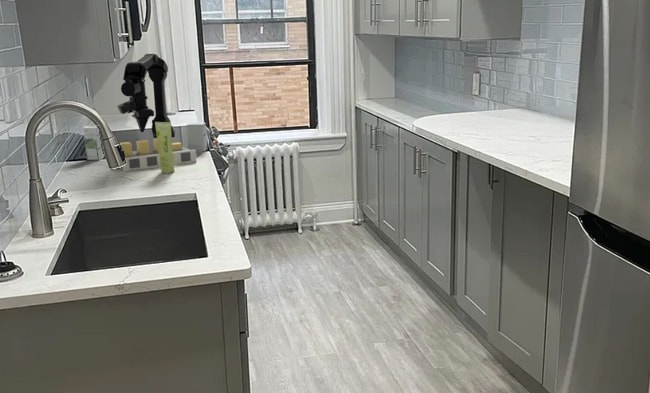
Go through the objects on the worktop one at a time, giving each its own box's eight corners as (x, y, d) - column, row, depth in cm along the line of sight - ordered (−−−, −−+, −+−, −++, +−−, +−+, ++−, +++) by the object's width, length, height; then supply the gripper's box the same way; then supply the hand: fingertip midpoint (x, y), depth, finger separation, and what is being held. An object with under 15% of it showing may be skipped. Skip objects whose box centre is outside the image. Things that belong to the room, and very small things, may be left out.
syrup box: (105, 157, 267) (101, 124, 263) (99, 160, 262) (95, 127, 258) (92, 157, 268) (88, 124, 264) (86, 160, 262) (82, 127, 258)
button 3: (137, 156, 256) (136, 141, 254) (147, 155, 258) (145, 140, 256) (140, 157, 253) (138, 142, 251) (150, 156, 255) (148, 141, 253)
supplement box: (204, 152, 275) (202, 124, 272) (188, 152, 275) (185, 124, 272) (207, 149, 282) (205, 121, 279) (191, 149, 282) (189, 122, 279)
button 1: (171, 158, 264) (169, 143, 262) (180, 156, 266) (178, 142, 264) (174, 159, 260) (172, 144, 259) (183, 158, 262) (181, 143, 261)
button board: (112, 163, 256) (111, 153, 255) (181, 154, 271) (181, 145, 270) (120, 169, 244) (119, 159, 243) (192, 159, 259) (192, 150, 258)
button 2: (154, 154, 259) (153, 139, 258) (163, 153, 261) (162, 138, 260) (157, 155, 256) (155, 140, 254) (166, 154, 258) (165, 139, 256)
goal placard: (122, 170, 242) (121, 158, 240) (195, 161, 257) (194, 149, 255) (123, 171, 241) (122, 158, 239) (196, 161, 256) (195, 149, 254)
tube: (160, 173, 235) (155, 123, 230) (159, 171, 240) (154, 121, 234) (175, 172, 237) (170, 122, 231) (174, 169, 241) (169, 120, 236)
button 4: (120, 158, 252) (119, 143, 251) (130, 157, 254) (129, 141, 253) (123, 159, 249) (121, 144, 247) (133, 158, 251) (131, 143, 249)
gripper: (112, 93, 252) (116, 131, 256) (124, 97, 237) (128, 137, 241) (139, 91, 258) (143, 128, 262) (152, 95, 242) (156, 134, 247)
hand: (142, 132), depth 253 cm, fingers closed
